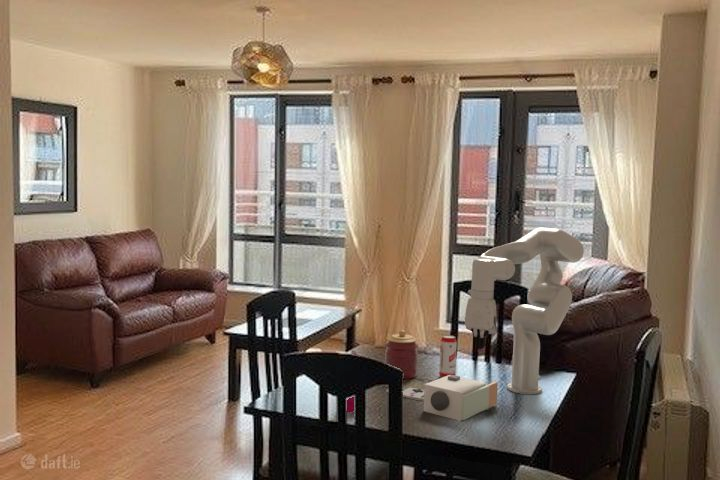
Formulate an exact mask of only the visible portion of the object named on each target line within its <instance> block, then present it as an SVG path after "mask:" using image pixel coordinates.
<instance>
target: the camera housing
mask: <svg viewBox="0 0 720 480" xmlns="http://www.w3.org/2000/svg"><path fill="white" fill-rule="evenodd" d="M486 385H487V382H484V381H479V380H475V379H471V378H465V377H461V376H459V375H456V374H455V375H448V376H445V377H443V378H442V377H440V378H438V379H437V378H436V379H434V380H432V381H429V382H427V383H424V389H423V390H424V401H423V412H426V413H428V414H429V413H430V414H433V415H437V416H440V417H444V418H449V419H451V420H456V421H459V422H461V421H463V420H462V419H461V410H462V396H463V395H465V394H468V393H470V392H472V391H474V390H477V389H479V388H481V387H484V386H486Z"/></svg>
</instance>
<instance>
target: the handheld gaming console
mask: <svg viewBox="0 0 720 480" xmlns="http://www.w3.org/2000/svg"><path fill="white" fill-rule="evenodd" d="M402 392H403V397H402V398H405V397H406V398H405V399H411V400H414V401H415V400H416V401H422V402H424V389H421V388H415V387H408V388H406V389H404V390H402Z"/></svg>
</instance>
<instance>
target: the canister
mask: <svg viewBox="0 0 720 480" xmlns="http://www.w3.org/2000/svg"><path fill="white" fill-rule="evenodd" d="M385 347H386V350H385V352H384V355H385V356H384V364H385V363H387V364H390V365H392V366H395V367H397V368H400V369H401V370H402V371H403V373H404V380H405V379H406V380H407V379H412V378H416V377H417V375H418V361H419V360H418V359H419V358H418V357H419V353H418V348H419V347H420V346H419V344H417V338H416V337H414V336H413V335H410V334H408V333H407V332H406V331H405V330H403V329H401V330H399V333H394V334H391V335H390V336H388V337H387V342H385Z"/></svg>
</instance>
